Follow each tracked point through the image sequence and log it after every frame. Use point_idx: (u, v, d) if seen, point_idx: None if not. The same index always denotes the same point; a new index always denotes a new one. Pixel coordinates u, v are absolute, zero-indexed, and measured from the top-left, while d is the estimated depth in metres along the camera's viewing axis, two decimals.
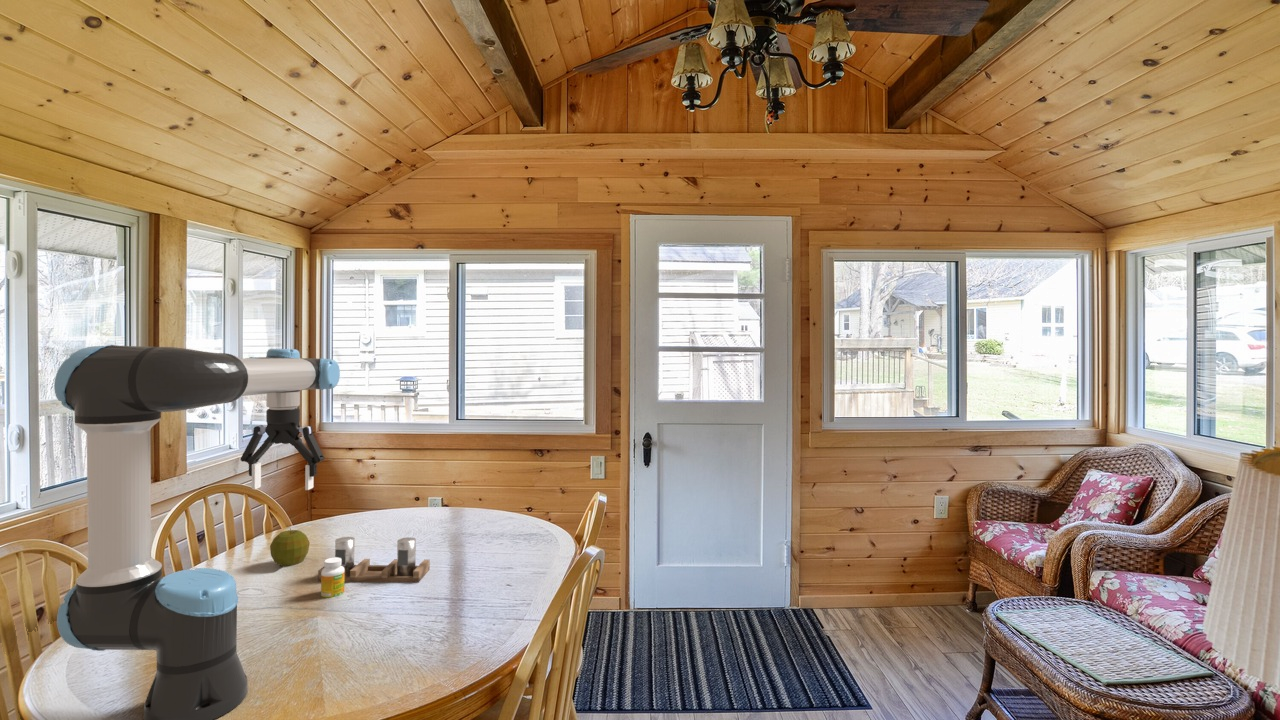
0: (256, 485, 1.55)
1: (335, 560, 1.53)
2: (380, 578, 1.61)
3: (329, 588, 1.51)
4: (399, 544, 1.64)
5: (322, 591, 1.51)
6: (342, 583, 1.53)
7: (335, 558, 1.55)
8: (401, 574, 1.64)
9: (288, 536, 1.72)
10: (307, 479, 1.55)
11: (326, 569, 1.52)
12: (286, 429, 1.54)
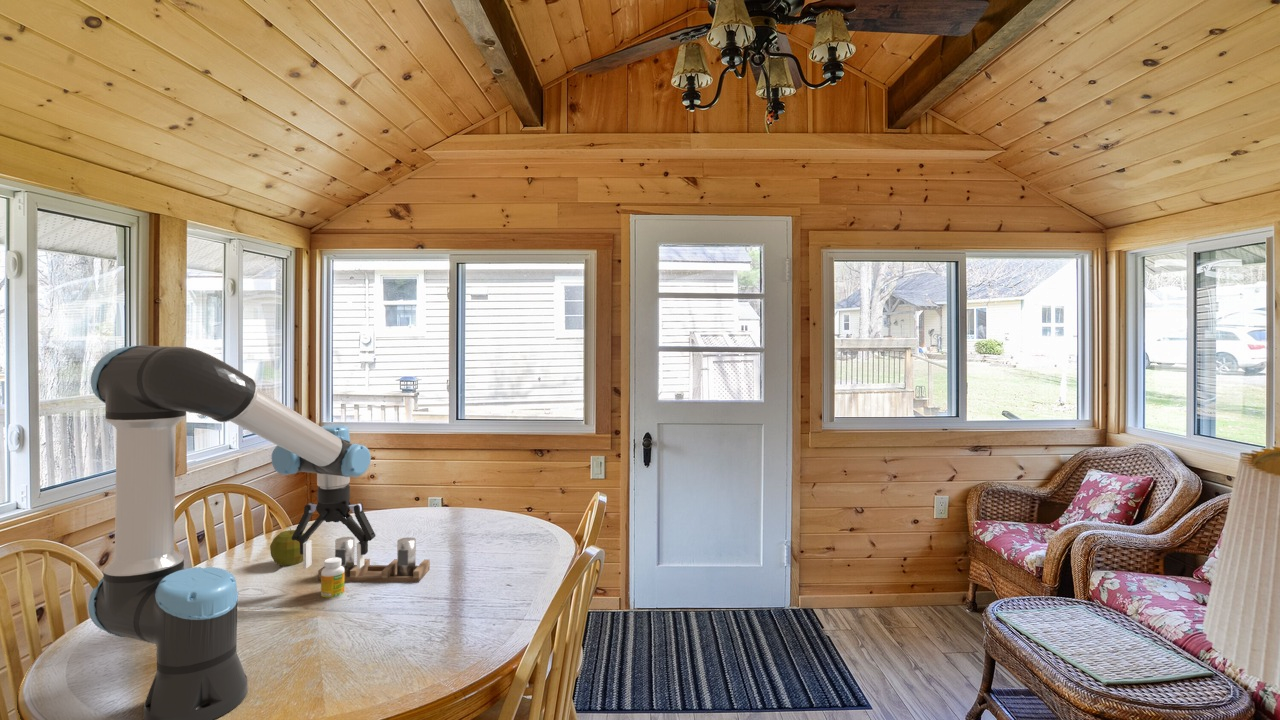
0: (307, 564, 1.53)
1: (335, 560, 1.53)
2: (380, 578, 1.61)
3: (329, 588, 1.51)
4: (399, 544, 1.64)
5: (322, 591, 1.51)
6: (342, 583, 1.53)
7: (335, 558, 1.55)
8: (401, 574, 1.64)
9: (288, 536, 1.72)
10: (359, 558, 1.53)
11: (326, 569, 1.52)
12: (337, 507, 1.52)
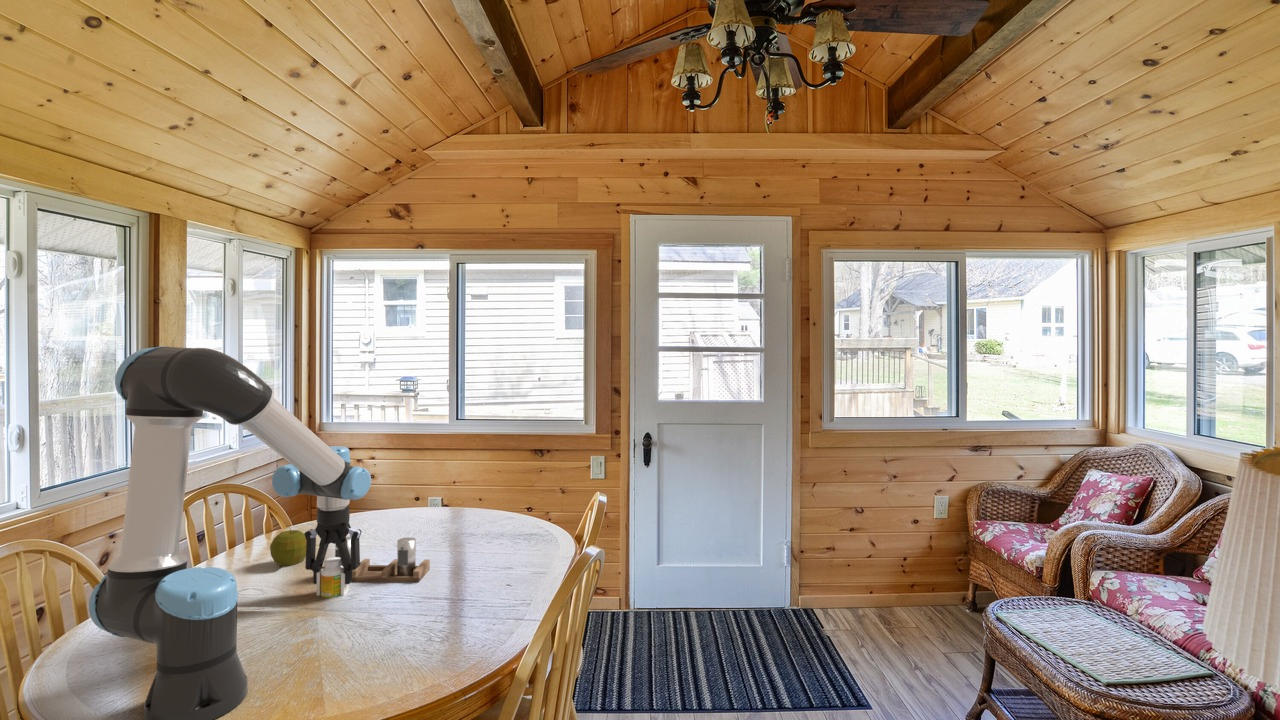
0: (320, 593, 1.53)
1: (335, 560, 1.53)
2: (380, 578, 1.61)
3: (329, 588, 1.51)
4: (399, 544, 1.64)
5: (322, 591, 1.51)
6: None
7: (335, 558, 1.55)
8: (401, 574, 1.64)
9: (288, 536, 1.72)
10: (343, 587, 1.52)
11: (326, 569, 1.52)
12: (338, 529, 1.52)
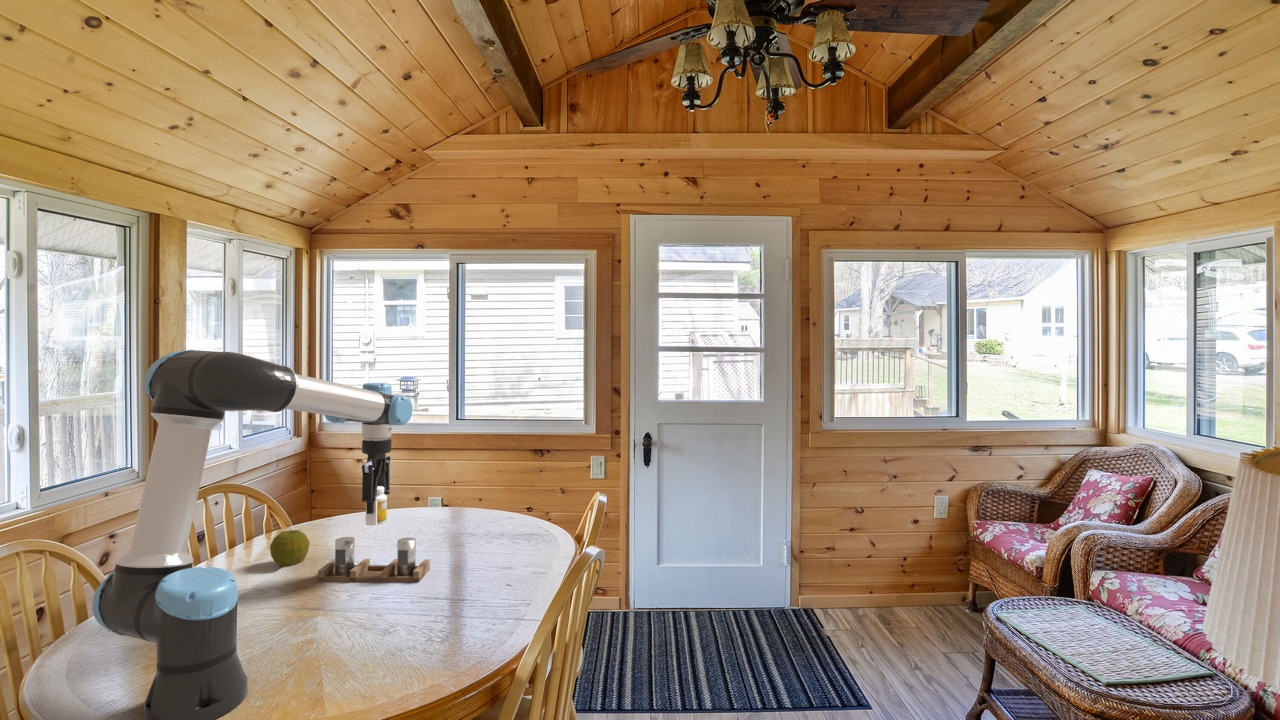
0: None
1: None
2: (380, 578, 1.61)
3: None
4: (399, 544, 1.64)
5: None
6: None
7: (380, 487, 1.65)
8: (401, 574, 1.64)
9: (288, 536, 1.72)
10: None
11: None
12: None
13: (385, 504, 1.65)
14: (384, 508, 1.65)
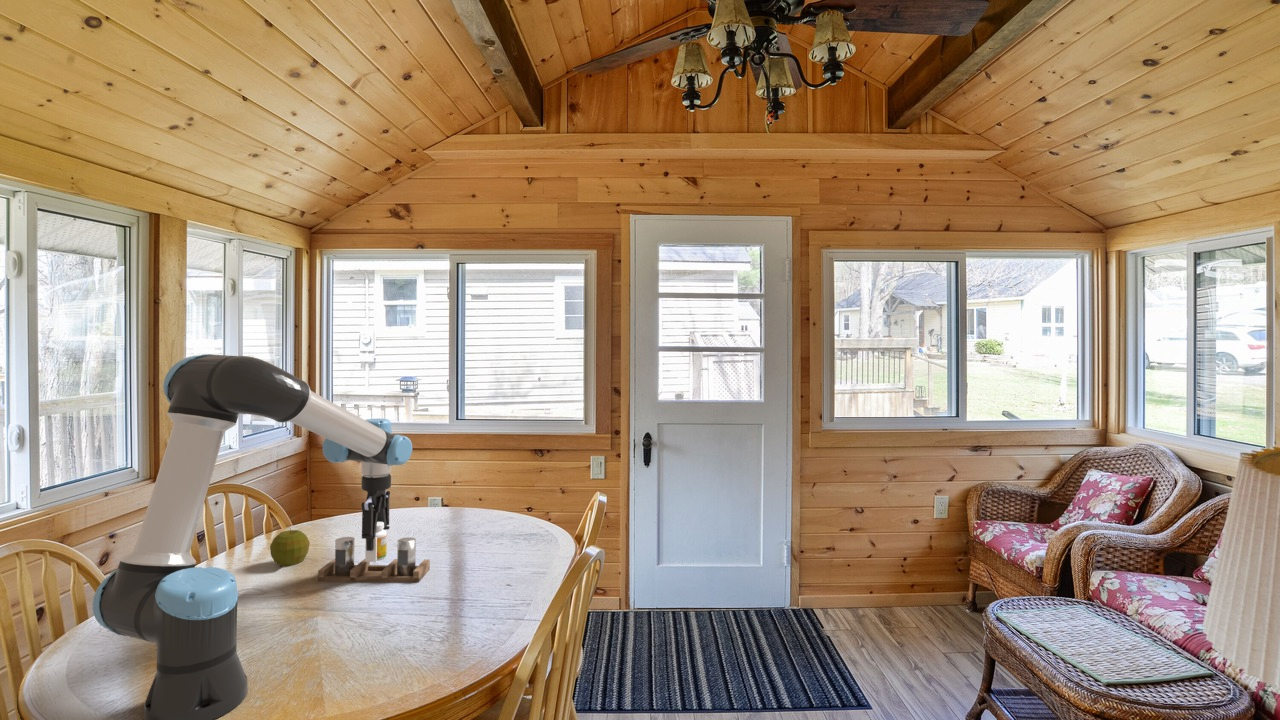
0: None
1: None
2: (380, 578, 1.61)
3: None
4: (399, 544, 1.64)
5: None
6: None
7: (380, 523, 1.66)
8: (401, 574, 1.64)
9: (288, 536, 1.72)
10: None
11: None
12: None
13: (385, 540, 1.65)
14: (384, 544, 1.65)
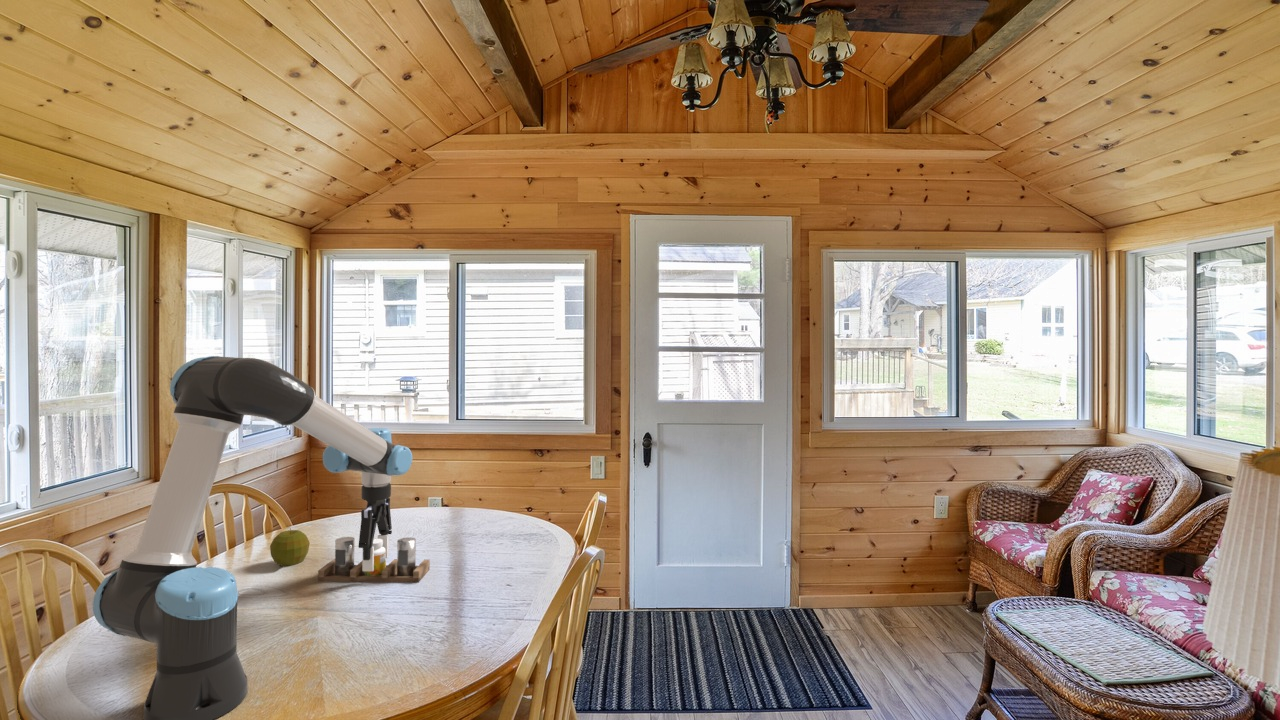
0: None
1: None
2: (380, 578, 1.61)
3: None
4: (399, 544, 1.64)
5: None
6: None
7: (378, 541, 1.65)
8: (401, 574, 1.64)
9: (288, 536, 1.72)
10: None
11: None
12: None
13: (384, 557, 1.65)
14: (383, 561, 1.65)
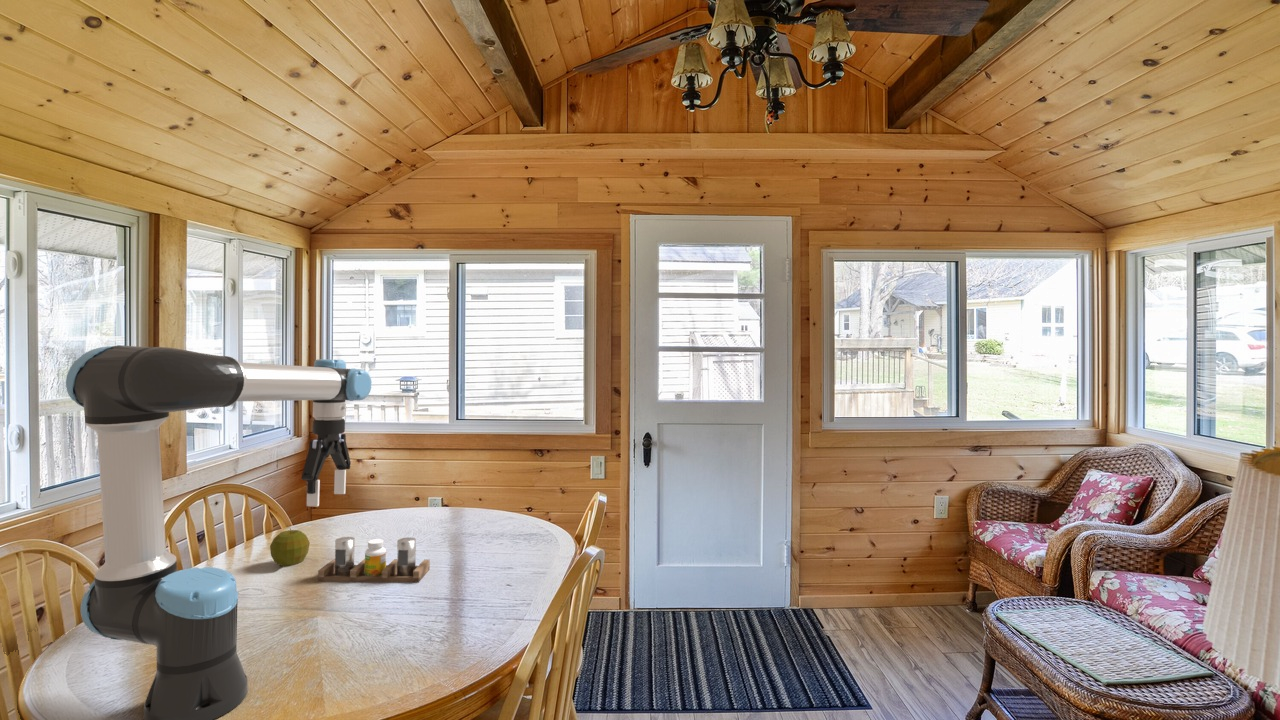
0: (336, 491, 1.61)
1: (372, 542, 1.65)
2: (380, 578, 1.61)
3: None
4: (399, 544, 1.64)
5: None
6: (370, 565, 1.63)
7: (379, 541, 1.65)
8: (401, 574, 1.64)
9: (288, 536, 1.72)
10: None
11: None
12: None
13: (384, 557, 1.65)
14: (383, 562, 1.65)
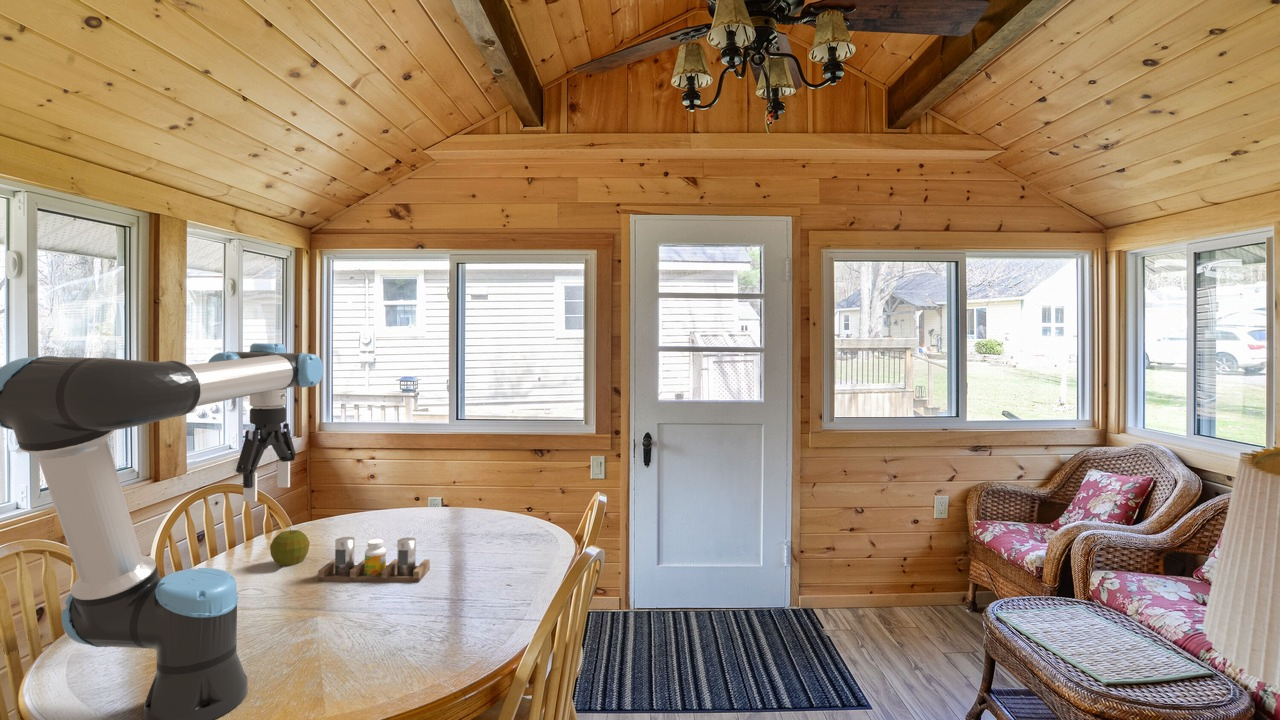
0: (280, 484, 1.51)
1: (372, 542, 1.65)
2: (380, 578, 1.61)
3: None
4: (399, 544, 1.64)
5: None
6: (370, 565, 1.63)
7: (379, 541, 1.65)
8: (401, 574, 1.64)
9: (288, 536, 1.72)
10: None
11: None
12: None
13: (384, 557, 1.65)
14: (383, 561, 1.65)
